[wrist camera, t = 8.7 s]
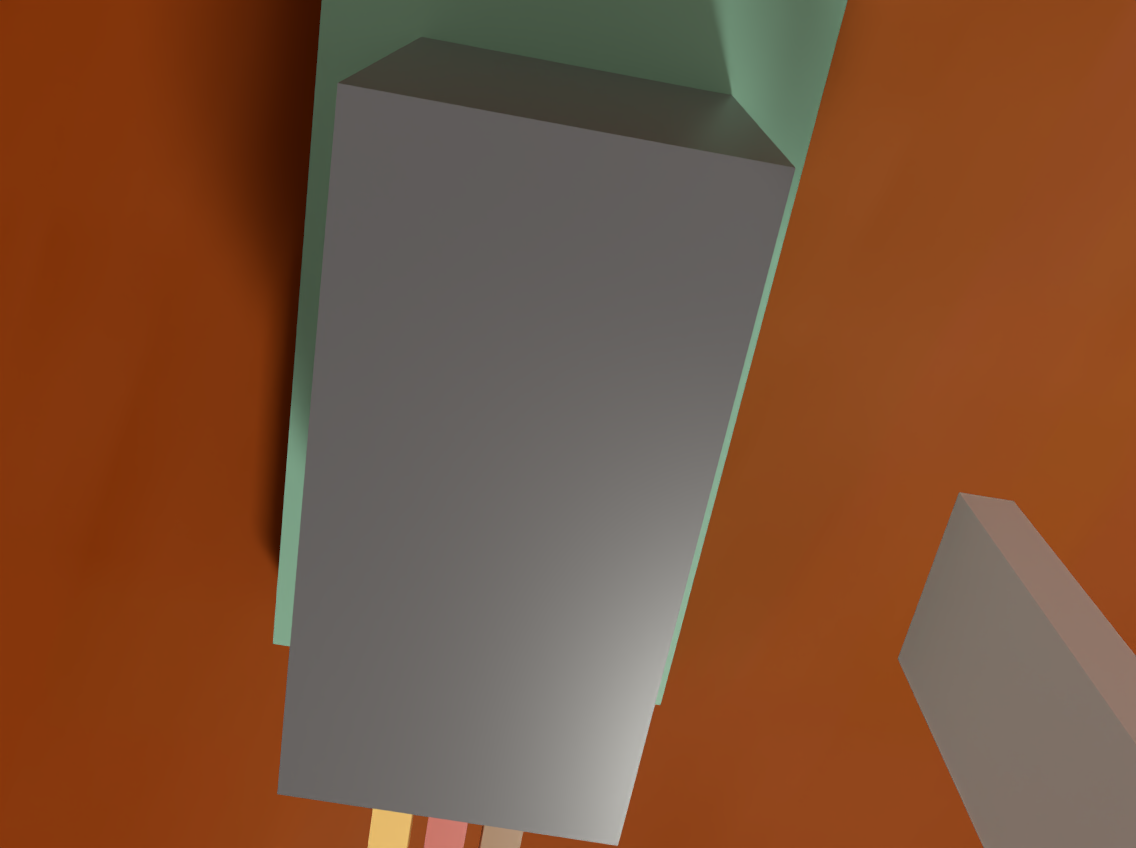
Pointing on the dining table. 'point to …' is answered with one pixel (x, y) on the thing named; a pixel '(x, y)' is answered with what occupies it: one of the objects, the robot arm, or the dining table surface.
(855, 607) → the dining table surface
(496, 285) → the plug housing
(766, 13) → the header board
